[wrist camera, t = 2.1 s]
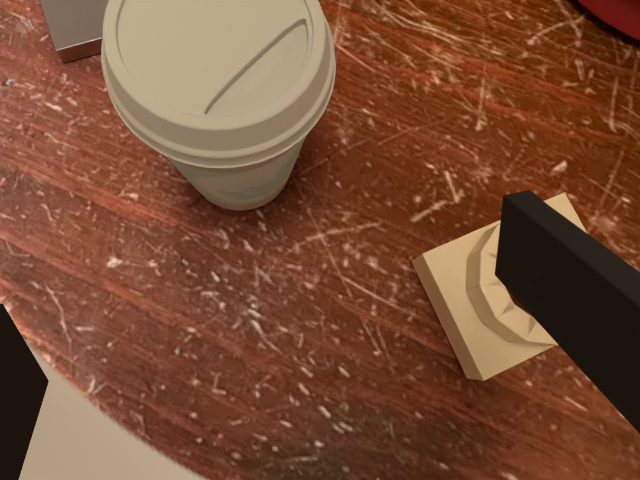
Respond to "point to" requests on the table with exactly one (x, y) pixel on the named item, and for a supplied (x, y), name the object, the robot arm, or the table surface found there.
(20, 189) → the table surface
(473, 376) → the control block
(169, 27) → the coffee cup
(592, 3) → the table lamp
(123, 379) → the table surface
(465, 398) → the table surface
